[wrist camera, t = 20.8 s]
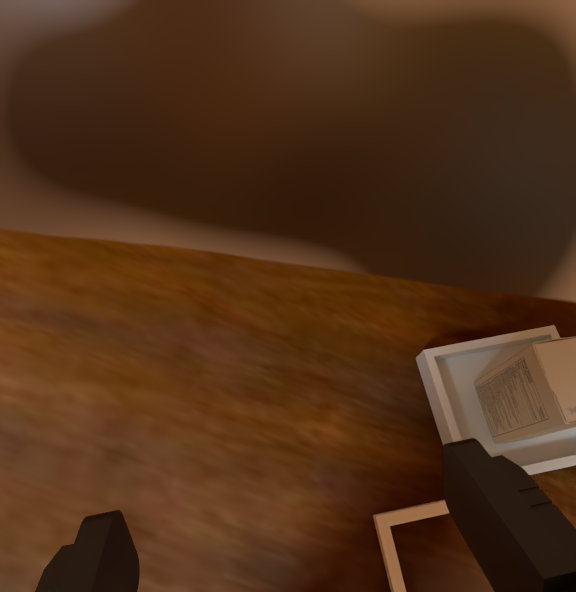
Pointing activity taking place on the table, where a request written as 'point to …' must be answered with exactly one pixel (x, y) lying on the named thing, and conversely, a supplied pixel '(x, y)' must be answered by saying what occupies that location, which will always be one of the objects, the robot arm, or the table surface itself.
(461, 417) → the tray
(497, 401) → the skincare box
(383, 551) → the holder
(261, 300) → the table surface
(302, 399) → the table surface
